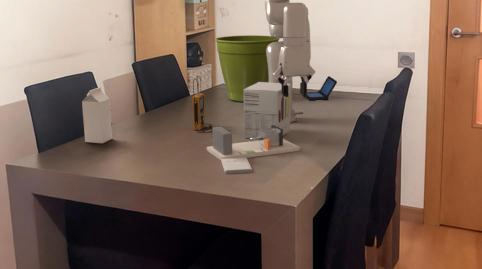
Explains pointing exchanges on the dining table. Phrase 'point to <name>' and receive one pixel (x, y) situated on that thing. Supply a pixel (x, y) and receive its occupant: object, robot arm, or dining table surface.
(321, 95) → the handheld game console
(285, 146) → the base
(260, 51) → the plant pot
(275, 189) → the dining table surface
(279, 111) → the supplement box
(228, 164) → the external hard drive
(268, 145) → the small orange block
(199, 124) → the multimeter
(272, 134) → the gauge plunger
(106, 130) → the milk carton
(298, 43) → the robot arm
